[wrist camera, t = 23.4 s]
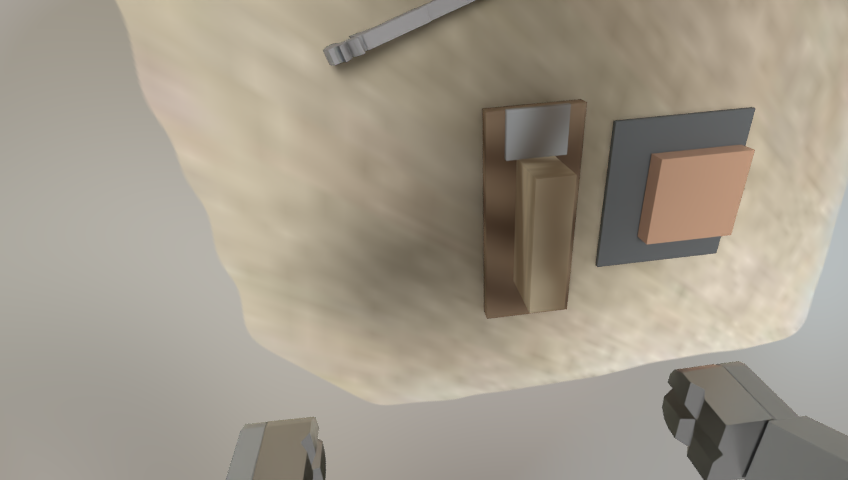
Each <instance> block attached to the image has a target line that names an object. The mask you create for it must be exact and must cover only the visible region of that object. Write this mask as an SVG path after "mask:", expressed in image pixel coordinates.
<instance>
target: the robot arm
mask: <svg viewBox="0 0 848 480" xmlns="http://www.w3.org/2000/svg"><path fill="white" fill-rule="evenodd" d="M668 383H669V385H670V386H671V387H672V389H671V390H670V391H669V392H668V393H667V394H666V395H665V396H664V400H663V405H662V409H663V415H664V419H665V422H666V424H667V426H668V429H669V430H670V431H671V433H672V435H673V436H674V438H675V439H677V440H679V441H680V442H682V443H684V444H685V445H687V446H688V447H687V457H688V458H689V459H690V461H691V462H692V464H693V465H694V467H695V468H696V469H697V471H698V472H699V474H700V475H701V477H702V478H703V480H737V479H745V480H848V436H847V435H845V434H843V433H840V432H839V431H836V430H834V429H832V428H830V427H828V426H826V425H824V424H822V423H820V422H818V421H815V420H813V419H811V418H809V417H807V416H802V417H799V416H798V415H797V414H796V413H795V412H794V411H793V410H792V409H791V408H790V407H789V406H788V405H787V404H786V403H785V402H783V400H782V399H780V398H779V397H778V396H777V395H776V394H775V393H774V392H773V391H772V390H771V389H770V388H769V387H768V386H767V385H766V384H765V383H764V382H763V381H762V380H761V379H760V378H759V377H758V376H757V375H756V374H755V373H754V372H753V371H752V370H751V369H750V368H749V367H748V366H747V365H745V364H743V363H741V362H739V361H736V362H729V363H721V364H716V365H714V364H712V365H705V366H698V367H691V368H684V369H677V370H674V371H673V372H672V373H671V374H670V376H669V379H668ZM318 431H319V426H318V423H317V420H316V417H307V418H298V419H288V420H278V421H269V422H262V423H253V424H245V426H244V427H243V429H242V430H241V431H240V435H239V438H238V442H237V445H236V448H235V451H234V455H233V458H232V461H231V464H230V467H229V471H228V474H227V478H226V480H325V478H326V458H325V451H324V446H323V442H322V441H321V440H320V439H318Z"/></svg>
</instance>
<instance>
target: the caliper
mask: <svg viewBox="0 0 848 480" xmlns="http://www.w3.org/2000/svg"><path fill="white" fill-rule="evenodd" d="M473 1H475V0H433V1H431V2H429V3H427V4H424V5H422V6H420V7H418V8H414V9H412V10H410V11H408V12H405V13H403V14H401V15H399V16H397V17H394V18H392V19H390V20H388V21H386V22H384V23H382V24H380V25H378V26H375V27H373V28H371V29H368V30H365V31H362V32H359V33H356V34H353V35H351V36H349V37H350V39H348V40H345V41H343V42H341V43H335V44H331V45H329V46H327V47H326V48H325V49H324V50H323V52H324V54H325V56H326V58H327V60H328V62H329V65H337V64H339V63H342V62H348V61H349V60H351V59H352V57H356V56H359V55H363V54H365V51H367V50H370V49H372V48H375V47H377V46H379V45H381V44H383V43H385V42H388V41H390V40H392V39H394V38H396V37H398V36H401V35H403V34H405V33H407V32H409V31H411V30H414V29H416V28H418V27H420V26H422V25H424V24H427V23H429V22H431V21H432V20H434V19H436V18H438V17H440V16H443V15H445V14H447V13H449V12H451V11H454V10H456V9H458V8H460V7H462V6H464V5H467V4H469V3H471V2H473Z"/></svg>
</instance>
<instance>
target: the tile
mask: <svg viewBox="0 0 848 480" xmlns="http://www.w3.org/2000/svg"><path fill="white" fill-rule="evenodd" d="M754 151H755V150H754V149H751V148H749V147H746V146H744V145H732V146H722V147H712V148H702V149H693V150H683V151H673V152H663V153H654V154H652V155H651V161H650V167H649V172H648V178H647V184H646V190H645V196H644V201H643V207H642V213H641V219H640V225H639V230H638V237H639V238H640V239H641V240H642V241H643V242H644V243H645V244H646V245H647V244H656V243H665V242H673V241H682V240H691V239H700V238H708V237H717V236H726V235H731V233H732V230H733V226H734V222H735V219H736V215H737V212H738V208H739V205H740V201H741V198H742V194H743V190H744V187H745V183H746V180H747V176H748V173H749V169H750V166H751V162H752V159H753V155H754Z"/></svg>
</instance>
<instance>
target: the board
mask: <svg viewBox="0 0 848 480" xmlns="http://www.w3.org/2000/svg"><path fill="white" fill-rule="evenodd" d="M563 103H570V104H571V110H570V122H569V135H568V147H567V155H558V156H556V157H557V158H558V159H559V160H560V161H561V162H562V163H564V164H565V165H566V166H567V167H568V168H569V169H570V170H572V171H573V172H574V173H575V174H576V175H577V178H576V189H575V200H574V210H573V221H572V232H571V243H570V254H569V264H568V275H567V286H566V297H565V307H564V309H567V302H568V292H569V281H570V271H571V261H572V251H573V240H574V230H575V220H576V209H577V199H578V189H579V179H580V168H581V158H582V148H583V138H584V127H585V117H586V107H587V102H585V101H583V100H581V99H579V100H569V101H558V102H548V103H537V104H527V105H516V106H505V107H495V108H484V109H483V218H484V312H485V315H486V317H487V319H489V318H497V317H505V316H513V315H522V314H530V313H529V311H528V309H527V307H526V305H525V303H524V301H523V299H522V297H521V295H520V293H519V291H518V289H517V287H516V285H515V283H514V281H513V277H514V240H515V202H516V164H517V160H509V161H506V160H505V109H511V108H521V107H531V106H542V105H552V104H563ZM560 310H563V309H560ZM552 311H555V310H552ZM544 312H546V311H544ZM535 313H538V312H535Z"/></svg>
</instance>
